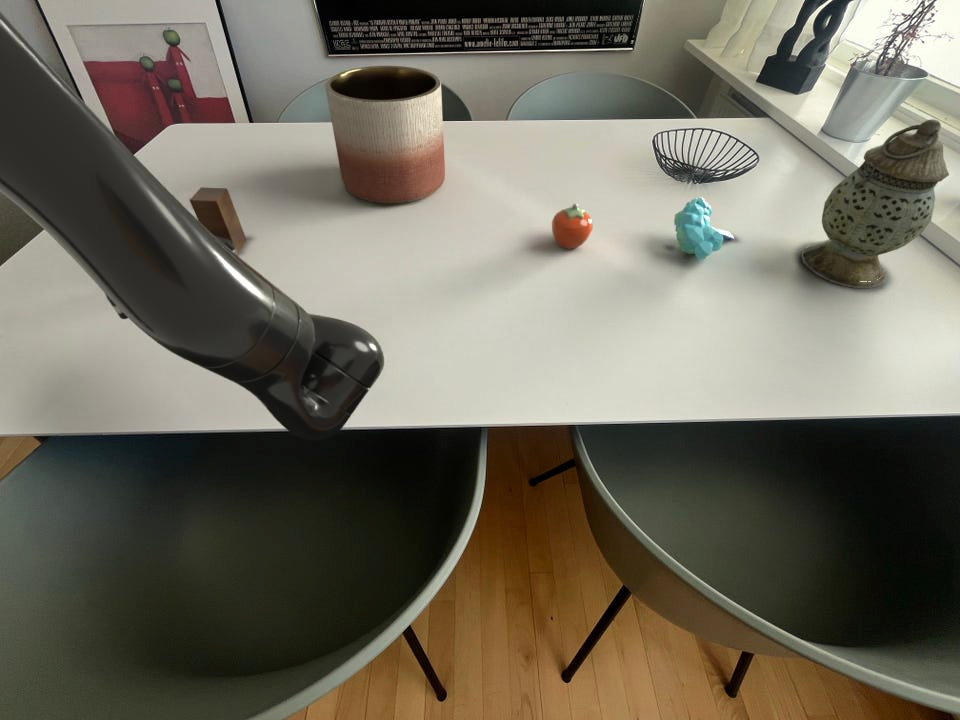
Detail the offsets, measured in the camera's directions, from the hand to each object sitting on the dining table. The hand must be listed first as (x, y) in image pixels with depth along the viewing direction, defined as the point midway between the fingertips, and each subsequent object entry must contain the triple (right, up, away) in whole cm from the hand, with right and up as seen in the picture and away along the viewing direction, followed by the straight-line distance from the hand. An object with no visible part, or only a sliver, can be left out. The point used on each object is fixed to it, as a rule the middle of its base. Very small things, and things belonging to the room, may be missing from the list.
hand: (134, 246), depth 55 cm
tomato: (+57, +9, +35) cm, 67 cm away
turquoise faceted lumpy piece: (+81, +8, +34) cm, 88 cm away
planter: (+21, +26, +50) cm, 60 cm away
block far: (-6, +8, +32) cm, 33 cm away
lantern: (+105, +4, +32) cm, 110 cm away
